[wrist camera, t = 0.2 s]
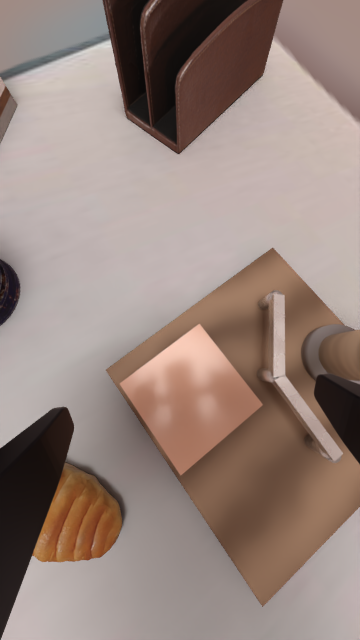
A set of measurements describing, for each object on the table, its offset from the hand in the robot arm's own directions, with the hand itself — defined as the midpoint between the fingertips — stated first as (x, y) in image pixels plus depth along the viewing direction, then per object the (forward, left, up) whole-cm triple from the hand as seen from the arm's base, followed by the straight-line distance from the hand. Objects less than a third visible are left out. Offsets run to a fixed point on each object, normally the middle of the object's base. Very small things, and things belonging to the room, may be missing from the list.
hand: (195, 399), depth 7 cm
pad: (-2, +1, -14) cm, 14 cm away
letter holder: (+30, -25, -15) cm, 42 cm away
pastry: (-3, +15, -15) cm, 22 cm away
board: (-7, -5, -15) cm, 17 cm away
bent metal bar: (-6, -9, -14) cm, 17 cm away
